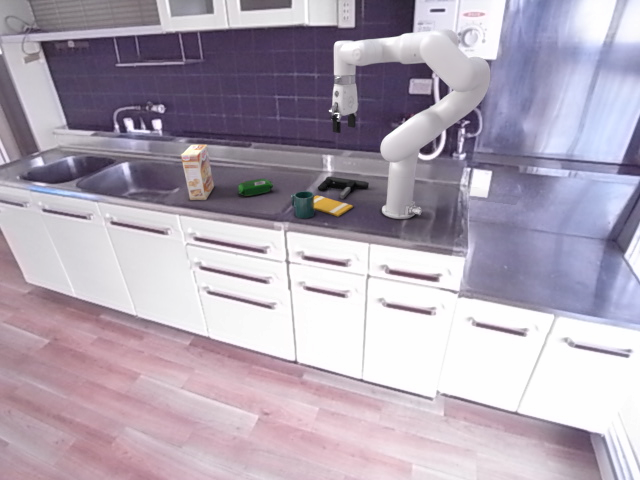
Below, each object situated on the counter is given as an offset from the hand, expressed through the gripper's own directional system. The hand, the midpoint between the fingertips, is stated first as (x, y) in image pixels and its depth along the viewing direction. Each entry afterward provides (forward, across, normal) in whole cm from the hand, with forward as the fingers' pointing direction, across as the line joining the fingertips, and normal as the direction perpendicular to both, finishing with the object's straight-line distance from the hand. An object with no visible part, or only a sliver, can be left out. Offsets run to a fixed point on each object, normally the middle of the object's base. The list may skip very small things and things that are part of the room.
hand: (344, 129), depth 140 cm
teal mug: (+28, -20, +5) cm, 35 cm away
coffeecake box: (+28, -30, +54) cm, 68 cm away
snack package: (+28, -16, +35) cm, 48 cm away
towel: (+28, -10, +2) cm, 30 cm away
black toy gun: (+28, +7, +6) cm, 30 cm away
